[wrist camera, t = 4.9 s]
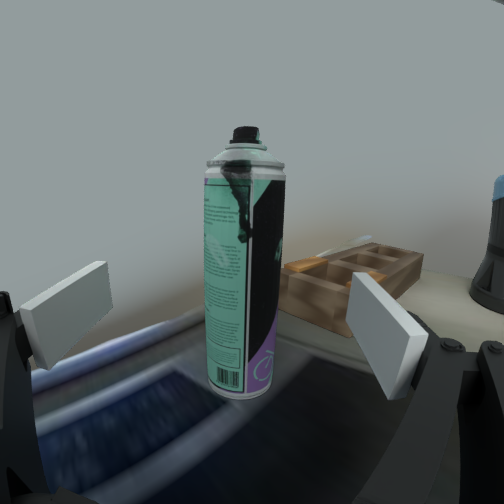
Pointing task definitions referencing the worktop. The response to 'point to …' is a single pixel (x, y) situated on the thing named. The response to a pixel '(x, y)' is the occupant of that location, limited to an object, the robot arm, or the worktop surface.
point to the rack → (343, 282)
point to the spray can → (242, 264)
